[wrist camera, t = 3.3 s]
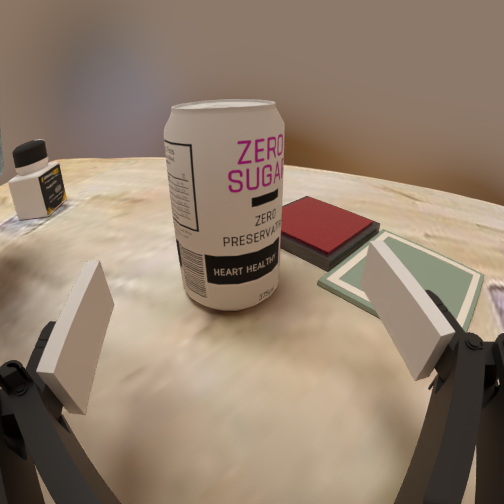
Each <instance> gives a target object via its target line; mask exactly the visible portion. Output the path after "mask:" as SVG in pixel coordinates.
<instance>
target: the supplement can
mask: <svg viewBox="0 0 504 504" xmlns="http://www.w3.org/2000/svg"><path fill="white" fill-rule="evenodd" d="M171 109H172V113H171V115H170V117H169V120H168V122H167V124H166V126H165V129H164V142H165V153H166V163H167V172H168V181H169V190H170V198H171V206H172V214H173V221H174V228H175V235H176V242H177V249H178V255H179V262H180V268H181V274H182V280H183V285H184V289H185V290H186V292H187V293H188V295H189V296H190V297H191V298H192V299H193V300H195V301H197V302H199V303H200V304H202V305H204V306H207V307H208V308H212V309H217V310H221V311H239V310H242V309H246V308H250V307H253V306H255V305H256V304H258V303H260V302H261V301H263V300H265V299H266V298H268V297H269V296H271V295H272V293H273V292H274V290H275V289H276V288H277V286H278V280H279V265H280V244H281V221H282V195H283V164H284V162H283V161H284V122H283V120H282V118H281V116H280V114H279V112H278V110H277V109H276V103H275V102H272V101H265V100H250V99H230V100H211V101H200V102H192V103H185V104H180V105H176V106H173V107H172V108H171Z"/></svg>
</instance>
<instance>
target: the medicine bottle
mask: <svg viewBox="0 0 504 504" xmlns="http://www.w3.org/2000/svg"><path fill="white" fill-rule="evenodd" d="M13 158H14V163H15V168H16V172H18V173H19V175H17V176H16V177H14V178H13V179H11V180H10V181H9V182H8V183H9V187H10V191H11V195H12V199H13V202H14V206H15V209H16V212H17V216H18V219H19V220H25V219H33V218H41V217H48V216H50V215H51V214H52V213H53V212H54V211H55V210H56V209H57V208H58V207H59V206H60V205H61V204H62V203H63V202H64V201H65V200H66V199H67V197H66V193H65V189H64V184H63V180H62V175H61V170H60V165H59V162H52V163H47V161H48V156H47V150H46V144H45V141H44V140H41V139H38V140H33V141H30V142H27V143H24V144H22V145H20V146H18V147H16V149H15V150H14V151H13Z"/></svg>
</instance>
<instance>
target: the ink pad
mask: <svg viewBox="0 0 504 504" xmlns="http://www.w3.org/2000/svg"><path fill="white" fill-rule="evenodd" d="M379 227H380V223H378V222H375V221H372V220H370V219H367V218H365V217H362V216H360V215H357V214H355V213H352V212H349V211H347V210H344V209H341V208H339V207H336V206H333V205H331V204H328V203H325V202H322V201H320V200H317V199H314V198H311V197H309V196H306V197H303V198H301V199H298V200H296V201H294V202H291V203H289V204H287V205H284V206H282V221H281V244H280V248H282V249H284V250H286V251H288V252H290V253H292V254H294V255H296V256H298V257H300V258H302V259H304V260H306V261H308V262H310V263H312V264H314V265H316V266H318V267H320V268H322V269H324V270H326V271H328V272H329V271H330V270H331V269H332V268H334V267H335V266H336V265H338V264H339V263H340V262H342V261H343V260H344V259H346V258H347V257H348V256H349V255H351V254H352V253H353V252H355V251H356V250H357V249H358V248H360V247H361V246H362V245H363V244H365V243H366V242H367V241H369V240H370V239H371V238H372V237H374V236H375V235H376V234H377V233H378V232H379Z"/></svg>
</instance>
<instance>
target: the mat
mask: <svg viewBox="0 0 504 504" xmlns="http://www.w3.org/2000/svg"><path fill="white" fill-rule="evenodd" d="M379 240H383V241H384V243H385V244H386V245H387V246H388V247H389V248H390V249H391V251H392V252H393V253H394V254H395V255H396V256H397V258H398V259H399V260H400V261H401V262H402V264H403V265H404V266H405V267H406V268H407V270H408V271H409V272H410V273H411V274H412V276H413V277H414V278H415V279H416V281H417V282H418V283H419V284H420V286H421V287H422V288H423V289H424V290H430V291H432V292H433V293H434V294H436V295H437V296H438V297H439V298H440V299H441V301H442V302H443V303H444V305H445V306H446V307H447V308H448V311H450V312H451V314H452V315H453V316H454V318H455V319H456V320H457V322H458V323H459V324H460V326H461V327H462V328H463V330H464V331H465V332H466V331H467V329H468V326H469V323H470V320H471V318H472V315H473V312H474V309H475V306H476V302H477V299H478V296H479V293H480V289H481V286H482V282H483V279H484V275H483V274H481V273H479V272H477V271H475V270H473V269H471V268H469V267H467V266H465V265H463V264H461V263H458V262H456V261H454V260H452V259H450V258H448V257H446V256H443V255H441V254H439V253H437V252H435V251H432V250H430V249H428V248H426V247H423V246H421V245H419V244H417V243H414V242H412V241H410V240H407V239H405V238H403V237H400V236H398V235H396V234H393V233H391V232H389V231H386V230H384V229H383V230H382V231H380V232H379V233H378V234H377V235H375V236H374V237H373V238H372V239H370V240H369V241H368V242H367V243H365V244H364V245H363V246H362V247H360V248H359V249H358V250H356V251H355V252H354V253H353V254H351V255H350V256H349V257H348V258H346V259H345V260H344V261H342V262H341V263H340V264H338V265H337V266H336V267H335V268H333V269H332V270H331V271H329V272H328V273H327V274H325V275H324V276H323V277H321V278H320V279H319V280H318V283H317V285H319V286H321V287H323V288H325V289H326V290H328V291H330V292H332V293H334V294H336V295H338V296H339V297H341V298H343V299H345V300H347V301H349V302H350V303H352V304H354V305H356V306H358V307H360V308H362V309H363V310H365V311H367V312H369V313H371V314H373V315H374V316H376V317H378V318H379V316H378V314H377V312H376V311H375V309H374V307H373V306H372V304H371V302H370V301H369V299H368V297H367V296H366V294H365V292H364V291H363V289H362V287H361V286H360V283H361V278H362V274H363V270H364V265H365V261H366V256H367V252H368V247H369V242H370V241H379Z"/></svg>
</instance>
